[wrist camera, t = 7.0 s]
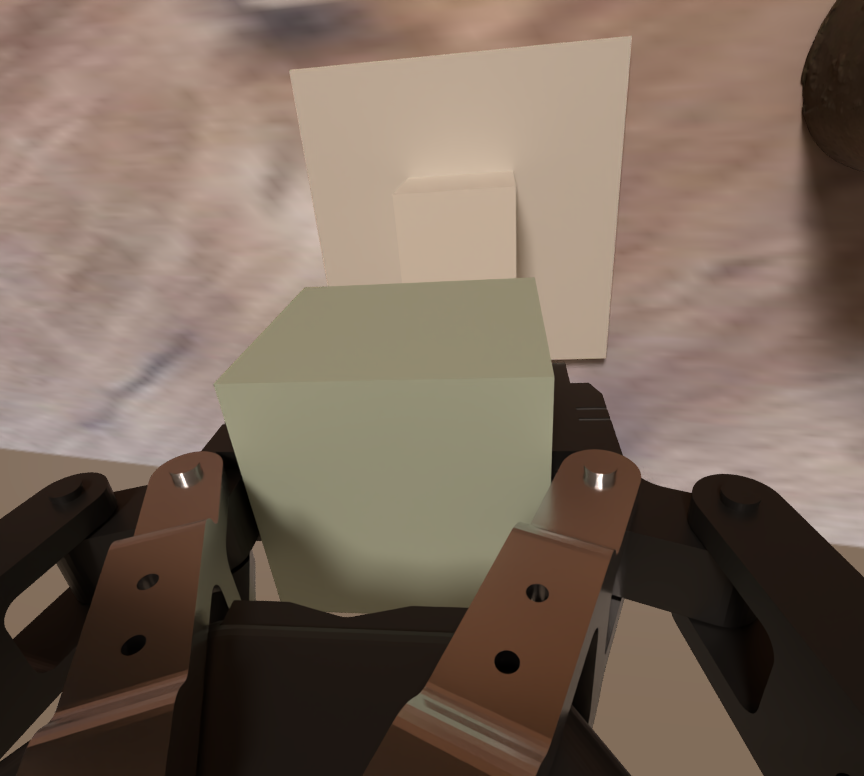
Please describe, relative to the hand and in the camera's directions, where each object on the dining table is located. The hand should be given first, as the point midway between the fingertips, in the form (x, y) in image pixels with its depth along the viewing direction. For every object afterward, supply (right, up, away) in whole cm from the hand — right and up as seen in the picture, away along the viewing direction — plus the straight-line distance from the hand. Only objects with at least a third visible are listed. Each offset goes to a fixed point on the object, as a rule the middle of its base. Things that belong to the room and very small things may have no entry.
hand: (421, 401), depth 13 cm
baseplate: (+2, +9, +17) cm, 20 cm away
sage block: (0, 0, +1) cm, 1 cm away
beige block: (+2, +9, +16) cm, 18 cm away
